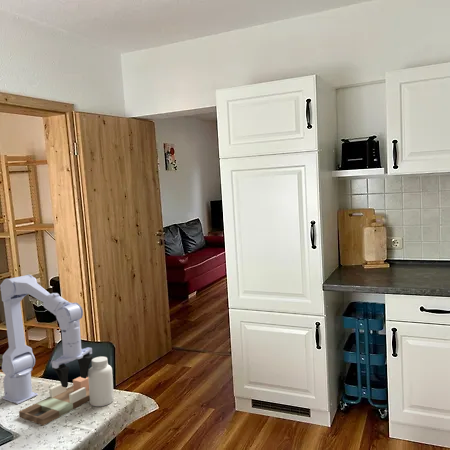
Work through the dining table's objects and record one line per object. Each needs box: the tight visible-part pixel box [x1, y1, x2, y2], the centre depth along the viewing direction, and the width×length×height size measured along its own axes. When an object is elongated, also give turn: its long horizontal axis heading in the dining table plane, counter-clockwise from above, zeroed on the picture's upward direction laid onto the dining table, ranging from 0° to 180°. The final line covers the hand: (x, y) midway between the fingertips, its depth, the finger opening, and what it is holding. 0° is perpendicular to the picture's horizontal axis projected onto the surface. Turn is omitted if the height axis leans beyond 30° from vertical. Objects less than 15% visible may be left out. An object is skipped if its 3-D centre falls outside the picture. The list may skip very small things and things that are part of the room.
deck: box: [18, 385, 90, 427], centre depth 151 cm, size 12×24×2 cm, turn 149°
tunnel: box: [49, 382, 86, 404], centre depth 153 cm, size 11×6×3 cm, turn 59°
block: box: [72, 376, 89, 391], centre depth 158 cm, size 4×4×4 cm
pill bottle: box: [87, 356, 115, 407], centre depth 152 cm, size 8×8×15 cm
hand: (74, 382), depth 145 cm, fingers open, 7 cm apart
